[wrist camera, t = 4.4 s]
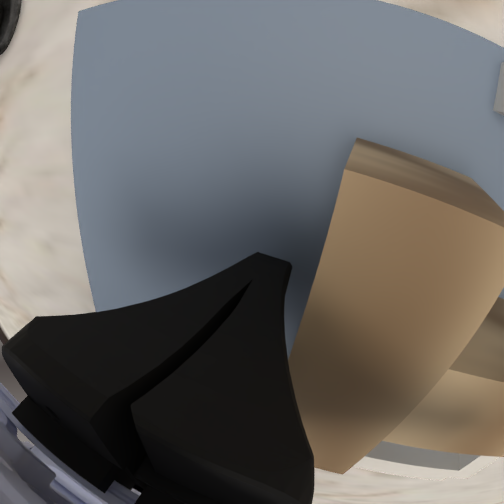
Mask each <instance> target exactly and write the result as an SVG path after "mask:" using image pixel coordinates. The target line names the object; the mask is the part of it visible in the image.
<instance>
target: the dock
mask: <svg viewBox="0 0 504 504" xmlns="http://www.w3.org/2000/svg"><path fill="white" fill-rule="evenodd" d="M493 111H495V112H497V113H499V114H501V115H503V116H504V62H502V63H501V68H500V75H499V81H498V87H497V92H496V98H495V103H494V108H493ZM498 458H500V457H495V456H480V455H469V454H459V453H450V452H443V451H436V450H429V449H423V448H417V447H411V446H406V445H400V444H395V443H390V442H386V441H381V442H380V443H379V444H378V445H377V446H376V447H375V448H374V449H372V450H371V451H370V452H369V453H368V454H367V455H366V456H364V457H363V458H362V459H361V460H360V461H359V462H357V463H356V464H355V465H354V466H352V467H356V468H360V469H365V470H370V471H375V472H380V473H386V474H392V475H398V476H404V477H412V478H419V479H428V480H438V481H443V480H445V479H446V478H459V479H468V478H470V477H471V476H473V475H475V474H476V473H478V472H479V471H481V470H482V469H484V468H485V467H487V466H488V465H490V464H491V463H493V462H494V461H495V460H497V459H498Z"/></svg>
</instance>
